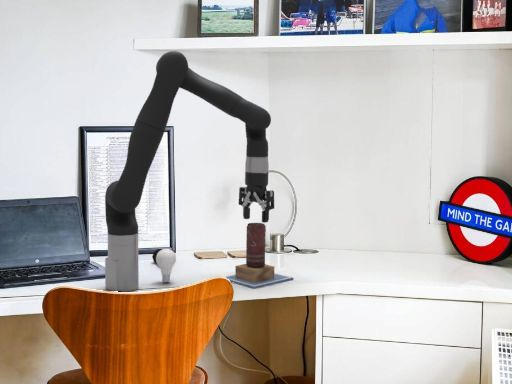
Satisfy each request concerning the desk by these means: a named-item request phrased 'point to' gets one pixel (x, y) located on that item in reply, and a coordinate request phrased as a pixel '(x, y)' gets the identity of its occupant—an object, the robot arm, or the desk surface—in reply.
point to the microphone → (155, 254)
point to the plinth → (254, 273)
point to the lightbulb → (166, 263)
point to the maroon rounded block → (255, 245)
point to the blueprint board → (277, 279)
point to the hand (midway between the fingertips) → (255, 220)
